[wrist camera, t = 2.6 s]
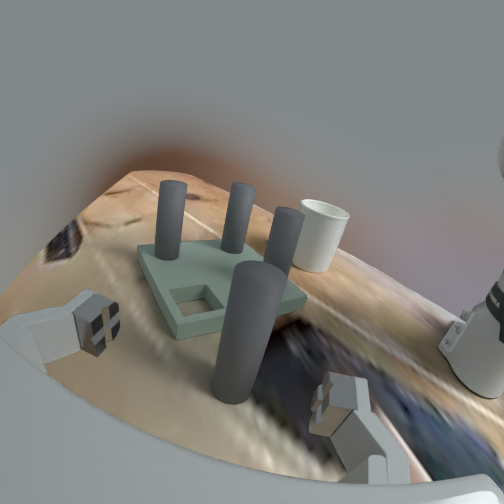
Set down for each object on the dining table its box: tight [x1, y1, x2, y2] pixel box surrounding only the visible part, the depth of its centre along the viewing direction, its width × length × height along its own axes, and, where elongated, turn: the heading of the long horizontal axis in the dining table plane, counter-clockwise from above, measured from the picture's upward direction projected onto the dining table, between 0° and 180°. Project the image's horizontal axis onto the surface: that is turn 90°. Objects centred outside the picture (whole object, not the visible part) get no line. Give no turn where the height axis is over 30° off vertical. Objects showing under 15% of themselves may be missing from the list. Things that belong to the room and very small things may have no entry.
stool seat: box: [137, 180, 308, 340], centre depth 41 cm, size 20×20×14 cm
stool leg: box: [212, 260, 287, 405], centre depth 24 cm, size 4×4×14 cm
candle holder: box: [292, 199, 350, 273], centre depth 56 cm, size 10×10×12 cm
